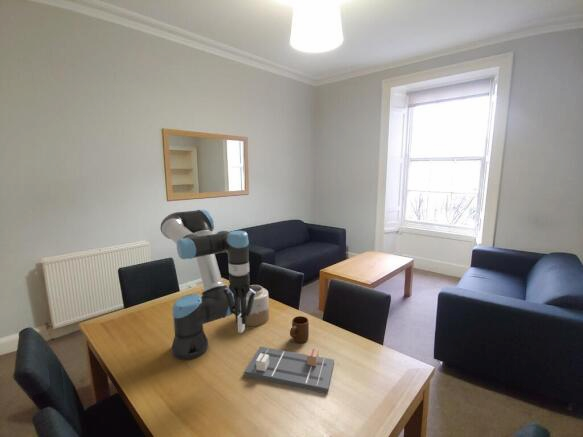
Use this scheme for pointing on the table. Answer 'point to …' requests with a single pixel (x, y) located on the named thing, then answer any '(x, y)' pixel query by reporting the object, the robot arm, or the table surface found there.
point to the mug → (300, 329)
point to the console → (293, 370)
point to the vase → (258, 307)
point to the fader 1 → (262, 362)
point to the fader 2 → (312, 357)
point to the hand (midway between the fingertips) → (241, 330)
